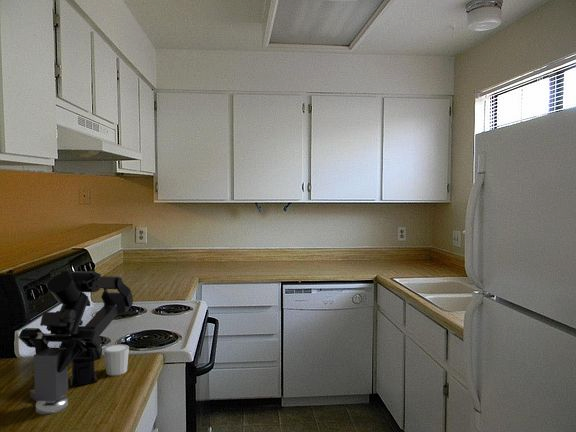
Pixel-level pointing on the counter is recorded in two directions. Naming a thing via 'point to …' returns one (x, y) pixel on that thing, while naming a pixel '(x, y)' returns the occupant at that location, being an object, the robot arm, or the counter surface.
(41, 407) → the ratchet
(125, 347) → the white tapered cup
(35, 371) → the dark grey square block
